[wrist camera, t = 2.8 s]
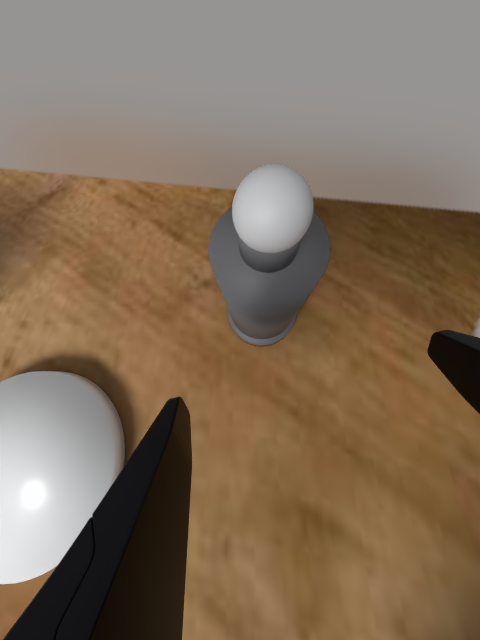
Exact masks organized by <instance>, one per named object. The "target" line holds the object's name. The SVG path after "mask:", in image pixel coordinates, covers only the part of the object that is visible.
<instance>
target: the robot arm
mask: <svg viewBox="0 0 480 640" xmlns="http://www.w3.org/2000/svg"><path fill="white" fill-rule="evenodd" d="M428 355H429V357H430V358H431V360H432V361H433V362H434V363H435V364H436V366H437V367H438V368H439V369H440V370H441V372H442V373H443V374H444V375H445V376H446V378H447V379H448V380H449V381H450V382H451V384H452V385H453V386H454V387H455V388H456V390H457V391H458V392H459V393H460V394H461V395H462V396H463V397H464V399H465V400H466V401H467V402H468V403H469V404H470V405H471V406H472V407H473V408H474V409H475V410H476V411H477V412H478V413H479V414H480V338H478V337H474V336H470V335H466V334H462V333H458V332H455V331H451V330H443V331H439V332H435V333H434V334H433V335H432V337H431V340H430V343H429V347H428ZM191 474H192V448H191V427H190V414H189V411H188V409H187V407H186V405H185V403H184V401H183V399H182V398H181V397H175V398H171V399H169V400H168V401H167V402H166V404H165V405H164V407H163V408H162V410H161V411H160V413H159V415H158V416H157V418H156V419H155V421H154V422H153V424H152V425H151V427H150V428H149V430H148V431H147V433H146V434H145V436H144V437H143V439H142V440H141V442H140V443H139V445H138V446H137V448H136V449H135V451H134V452H133V454H132V455H131V457H130V458H129V460H128V461H127V463H126V464H125V466H124V467H123V469H122V470H121V472H120V473H119V475H118V476H117V478H116V479H115V481H114V482H113V484H112V485H111V487H110V488H109V490H108V491H107V493H106V494H105V496H104V497H103V499H102V500H101V502H100V503H99V505H98V506H97V508H96V509H95V511H94V512H93V514H92V517H91V518H89V520H88V521H87V523H86V524H85V526H84V527H83V529H82V530H81V532H80V533H79V535H78V536H77V538H76V539H75V541H74V542H73V544H72V545H71V547H70V548H69V550H68V551H67V552H66V554H65V555H64V557H63V558H62V560H61V561H60V563H59V564H58V565H57V567H56V568H55V570H54V571H53V572H52V574H51V575H50V576H49V578H48V579H47V581H46V582H45V583H44V585H43V586H42V588H41V589H40V590H39V592H38V593H37V594H36V596H35V597H34V599H33V600H32V601H31V603H30V604H29V605H28V607H27V608H26V609H25V611H24V612H23V613H22V615H21V616H20V617H19V619H18V620H17V621H16V623H15V624H14V625H13V627H12V628H11V629H10V631H9V632H8V633H7V635H6V636H5V637H4V639H3V640H182V628H183V610H184V593H185V576H186V559H187V542H188V525H189V508H190V491H191Z"/></svg>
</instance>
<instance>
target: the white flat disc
mask: <svg viewBox="0 0 480 640" xmlns="http://www.w3.org/2000/svg"><path fill="white" fill-rule="evenodd" d="M124 460H125V442H124V433H123V428H122V424H121V420H120V418H119V415H118V412H117V410H116V408H115V406H114V404H113V403H112V401H111V400H110V398H109V397H108V396H107V394H106V393H105V392H104V391H103V390H102V389H101V388H100V387H99V386H97V385H96V384H95V383H94V382H92V381H90V380H89V379H87V378H85V377H83V376H80V375H77V374H74V373H69V372H59V371H36V372H27V373H23V374H19V375H16V376H13V377H11V378H8V379H6V380H4V381H2V382H0V584H10V583H18V582H22V581H27V580H30V579H32V578H35V577H37V576H40V575H42V574H44V573H45V572H47V571H49V570H51V569H52V568H54V567H55V566H57V565H58V564H59V563H60V561H61V560H62V558H63V557H64V555H65V554H66V552H67V551H68V550H69V548H70V547H71V545H72V544H73V542H74V541H75V539H76V538H77V536H78V535H79V533H80V532H81V530H82V529H83V527H84V526H85V524H86V523H87V521H88V520H89V518H91V517H92V514H93V512H94V511H95V509H96V508H97V506H98V505H99V503H100V502H101V500H102V499H103V497H104V496H105V494H106V493H107V491H108V490H109V488H110V487H111V485H112V484H113V482H114V481H115V479H116V478H117V476H118V475H119V473H120V472H121V470H122V469H123V467H124Z"/></svg>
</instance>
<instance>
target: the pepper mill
mask: <svg viewBox="0 0 480 640" xmlns="http://www.w3.org/2000/svg"><path fill="white" fill-rule="evenodd" d="M313 207H314V204H313V196H312V192H311V190H310V187H309V185H308V183H307V181H306V180H305V179H304V177H303V176H302V175H301V174H300V173H299V172H297V171H296V170H295V169H293V168H291V167H289V166H286V165H282V164H269V165H264V166H261V167H259V168H257V169H255V170H254V171H252V172H251V173H250V174H248V175H247V176H246V178H245V179H244V180H243V181H242V182H241V184H240V186H239V187H238V189H237V191H236V194H235V196H234V200H233V205H232V207H231V208H230V209H228V210H227V211H226V212H225V213H224V214H223V215H222V216H221V217H220V218H219V220H218V221H217V223H216V224H215V226H214V228H213V230H212V233H211V235H210V240H209V247H208V253H209V260H210V264H211V267H212V270H213V272H214V275H215V277H216V280H217V282H218V285H219V287H220V290H221V292H222V295H223V297H224V300H225V302H226V305H227V316H228V320H229V322H230V325H231V327H232V329H233V331H234V332H235V334H236V335H237V336H238V337H239V338H240V339H241V340H243V341H244V342H246V343H248V344H250V345H254V346H269V345H272V344H275V343H277V342H279V341H280V340H281V339H283V338H284V337H285V336H286V334H287V333H288V332H289V331H290V329H291V328H292V326H293V325H294V322H295V320H296V316H297V312H298V311H299V309H300V308H301V306H302V305H303V304H304V302H305V301H306V299H307V298H308V296H309V295H310V293H311V292H312V290H313V289H314V287H315V286H316V285H317V283H318V282H319V280H320V279H321V277H322V275H323V274H324V272H325V270H326V268H327V265H328V262H329V258H330V241H329V236H328V233H327V230H326V228H325V226H324V224H323V222H322V221H321V220H320V218H319V217H318V216H317V215H316V214H315V213H314V212H313Z"/></svg>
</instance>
